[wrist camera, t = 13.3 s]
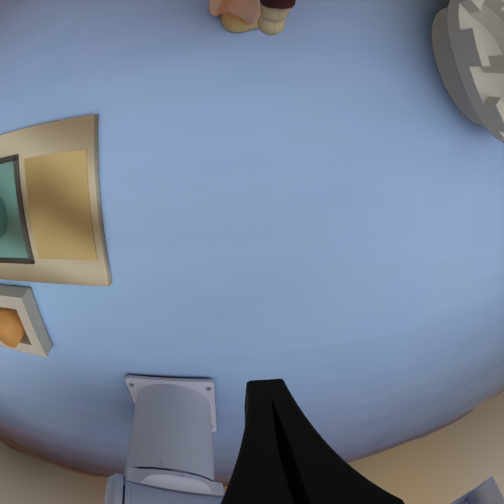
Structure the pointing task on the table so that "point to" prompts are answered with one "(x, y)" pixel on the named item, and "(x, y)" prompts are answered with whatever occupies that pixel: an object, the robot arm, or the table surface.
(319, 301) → the table surface
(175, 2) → the table surface
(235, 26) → the grandmother figurine
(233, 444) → the table surface
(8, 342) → the button
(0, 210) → the green grey cylinder
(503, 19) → the flag stand
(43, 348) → the button housing
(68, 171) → the picture board
